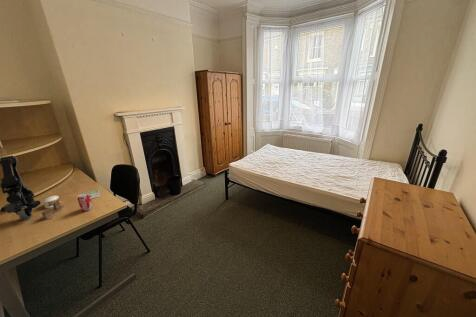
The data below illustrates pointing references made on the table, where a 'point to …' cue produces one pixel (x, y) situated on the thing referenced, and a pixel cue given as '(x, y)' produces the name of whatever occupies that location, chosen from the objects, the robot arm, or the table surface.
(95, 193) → the handheld gaming console
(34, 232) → the table surface
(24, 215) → the gray rectangular block
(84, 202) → the soda can
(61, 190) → the table surface
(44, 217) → the notched board
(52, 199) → the bobbin
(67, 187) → the table surface
